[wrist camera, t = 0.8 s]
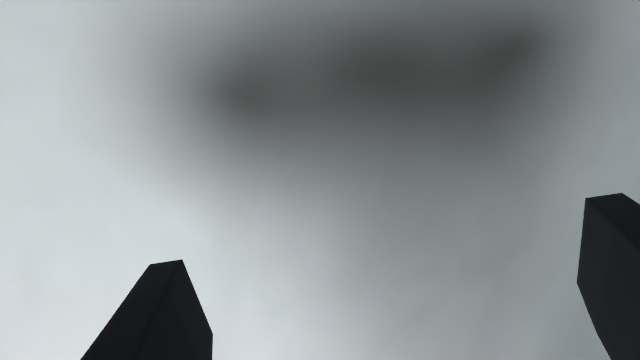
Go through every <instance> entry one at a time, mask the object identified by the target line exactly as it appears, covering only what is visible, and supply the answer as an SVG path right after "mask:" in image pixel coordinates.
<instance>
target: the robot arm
mask: <svg viewBox="0 0 640 360" xmlns="http://www.w3.org/2000/svg"><path fill="white" fill-rule="evenodd" d="M577 284H578V287H579V289H580V292H581V294H582V297H583V300H584V302H585V305H586V307H587V310H588V313H589V315H590V317H591V320H592V322H593V325H594V327H595V329H596V332H597V334H598V336H599V338H600V340H601V342H602V344H603V345H604V347H605V349H606V351H607V353H608V355H609V356H610V358H611V360H640V205H639V204H638V203H636V202H635V201H633V200H632V199H630V198H629V197H627V196H626V195H624V194H623V193H618V194H611V195H605V196H598V197H591V198H586V200H585V209H584V219H583V229H582V238H581V248H580V258H579V268H578V277H577ZM212 342H213V334H212V331H211V329H210V326H209V324H208V321H207V319H206V317H205V314H204V312H203V309H202V307H201V304H200V302H199V299H198V297H197V295H196V292H195V290H194V287H193V285H192V282H191V280H190V278H189V275H188V273H187V270H186V268H185V265H184V263H183V260H176V261H169V262H163V263H156V264H150V265H149V266H148V268H147V269H146V270H145V272H144V273H143V274H142V276H141V277H140V279H139V280H138V281H137V283H136V284H135V285H134V287H133V288H132V290H131V291H130V292H129V294H128V295H127V297H126V298H125V299H124V301H123V302H122V304H121V305H120V307H119V308H118V309H117V311H116V312H115V314H114V315H113V316H112V318H111V319H110V320H109V322H108V323H107V325H106V326H105V327H104V329H103V330H102V332H101V333H100V334H99V336H98V337H97V338H96V340H95V341H94V342H93V344H92V345H91V346H90V348H89V349H88V350H87V352H86V353H85V354H84V356H83V357H82V358H81V360H212Z"/></svg>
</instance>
